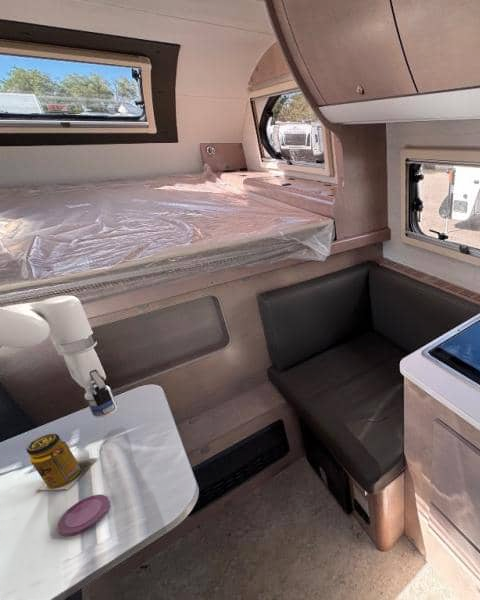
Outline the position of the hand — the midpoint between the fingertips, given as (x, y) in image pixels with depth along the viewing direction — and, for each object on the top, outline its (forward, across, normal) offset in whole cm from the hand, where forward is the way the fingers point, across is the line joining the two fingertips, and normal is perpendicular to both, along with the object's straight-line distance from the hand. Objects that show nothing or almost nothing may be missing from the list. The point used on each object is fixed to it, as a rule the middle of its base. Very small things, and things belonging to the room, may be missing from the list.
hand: (99, 398), depth 91 cm
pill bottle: (+5, 0, 0) cm, 5 cm away
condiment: (+10, +11, -12) cm, 19 cm away
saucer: (+10, +27, -14) cm, 32 cm away
